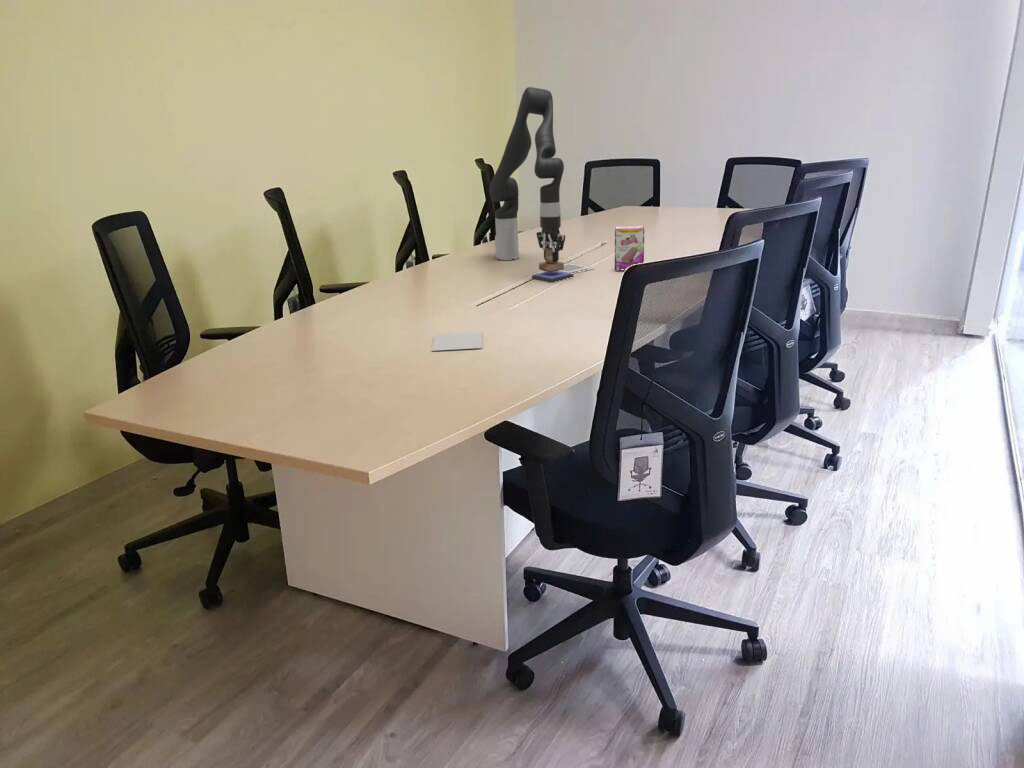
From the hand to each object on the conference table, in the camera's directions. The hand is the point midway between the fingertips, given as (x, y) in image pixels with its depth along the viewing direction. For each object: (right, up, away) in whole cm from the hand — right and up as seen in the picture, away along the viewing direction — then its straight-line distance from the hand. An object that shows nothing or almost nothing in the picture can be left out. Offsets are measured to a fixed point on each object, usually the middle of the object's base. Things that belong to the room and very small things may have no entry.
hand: (551, 260), depth 311 cm
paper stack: (-25, -36, -76) cm, 87 cm away
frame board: (+7, -1, +15) cm, 17 cm away
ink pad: (+1, -6, +2) cm, 7 cm away
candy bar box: (+30, -3, +9) cm, 32 cm away
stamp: (0, -3, +1) cm, 3 cm away
